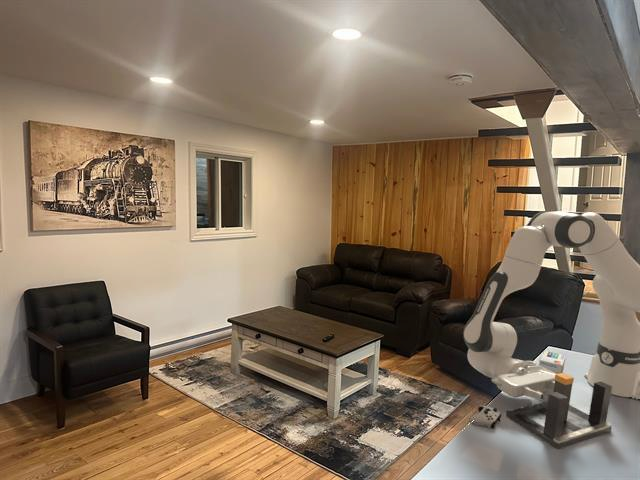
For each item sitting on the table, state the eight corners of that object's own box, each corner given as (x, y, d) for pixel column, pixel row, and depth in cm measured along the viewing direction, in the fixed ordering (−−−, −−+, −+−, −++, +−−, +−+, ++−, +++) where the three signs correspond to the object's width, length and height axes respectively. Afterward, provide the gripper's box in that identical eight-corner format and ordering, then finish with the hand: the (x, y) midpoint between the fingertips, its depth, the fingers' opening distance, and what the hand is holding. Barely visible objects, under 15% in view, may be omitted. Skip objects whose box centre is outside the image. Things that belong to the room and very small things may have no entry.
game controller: (478, 406, 125) (494, 398, 122) (489, 424, 124) (507, 415, 120) (466, 419, 118) (484, 411, 115) (478, 438, 116) (497, 430, 113)
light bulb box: (539, 379, 148) (543, 349, 147) (561, 385, 145) (566, 355, 143) (534, 390, 140) (539, 359, 138) (558, 397, 136) (562, 365, 134)
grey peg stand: (556, 403, 132) (562, 364, 130) (611, 432, 118) (618, 388, 116) (505, 416, 122) (511, 374, 121) (557, 449, 108) (565, 402, 106)
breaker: (556, 414, 122) (562, 372, 120) (567, 420, 119) (573, 377, 117) (549, 416, 120) (555, 374, 119) (559, 422, 118) (566, 379, 116)
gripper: (489, 368, 128) (529, 389, 116) (535, 360, 137) (577, 379, 125) (486, 388, 129) (526, 411, 117) (533, 378, 138) (574, 399, 126)
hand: (553, 394), depth 121 cm, fingers open, 8 cm apart
